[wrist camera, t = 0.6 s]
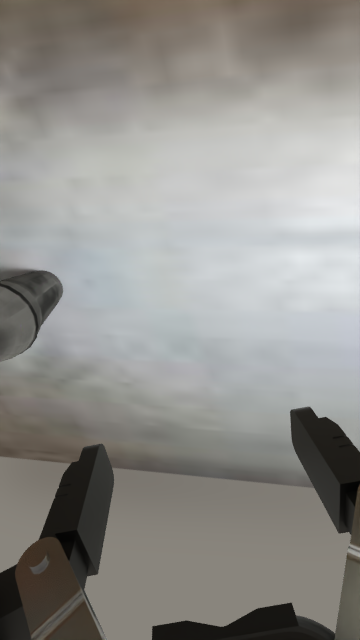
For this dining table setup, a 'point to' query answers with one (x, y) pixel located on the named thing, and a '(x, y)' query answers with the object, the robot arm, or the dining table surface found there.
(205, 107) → the dining table surface
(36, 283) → the beverage cup
